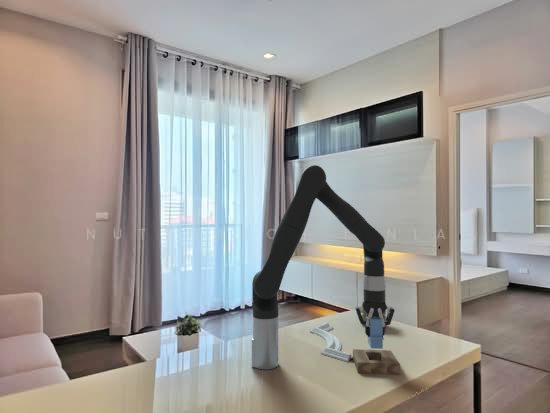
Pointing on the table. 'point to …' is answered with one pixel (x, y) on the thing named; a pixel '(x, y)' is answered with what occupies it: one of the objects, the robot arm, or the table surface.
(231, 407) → the table surface
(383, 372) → the tan square ring
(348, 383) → the table surface
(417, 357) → the table surface
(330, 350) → the molding
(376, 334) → the blue block
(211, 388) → the table surface
